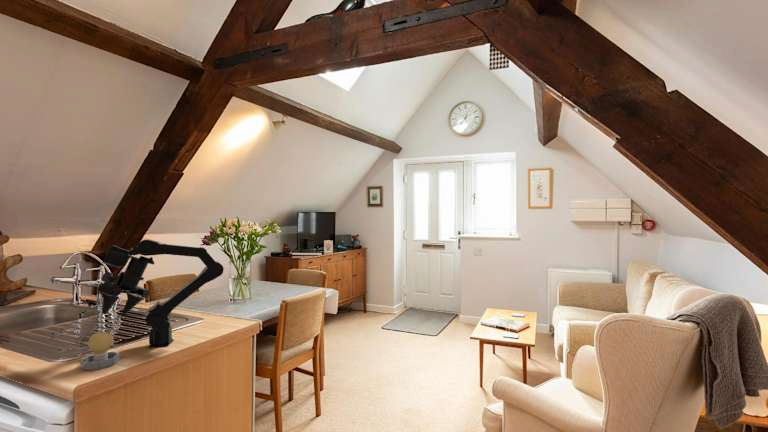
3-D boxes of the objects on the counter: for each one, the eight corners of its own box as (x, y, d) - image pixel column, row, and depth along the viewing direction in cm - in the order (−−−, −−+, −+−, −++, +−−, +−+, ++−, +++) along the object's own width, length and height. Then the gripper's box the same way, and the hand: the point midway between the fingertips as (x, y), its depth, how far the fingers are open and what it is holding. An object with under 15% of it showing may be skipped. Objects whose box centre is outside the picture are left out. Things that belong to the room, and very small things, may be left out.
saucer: (123, 357, 129) (123, 350, 129) (109, 368, 120) (109, 361, 120) (91, 360, 127) (91, 353, 127) (74, 371, 118) (74, 364, 118)
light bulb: (114, 357, 128) (113, 328, 128) (111, 363, 122) (111, 333, 122) (90, 361, 125) (90, 331, 125) (86, 368, 119) (86, 336, 119)
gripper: (134, 268, 148) (115, 306, 145) (95, 261, 130) (72, 305, 127) (158, 277, 146) (139, 316, 143) (122, 272, 128) (99, 317, 125)
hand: (113, 313), depth 135 cm, fingers open, 9 cm apart
